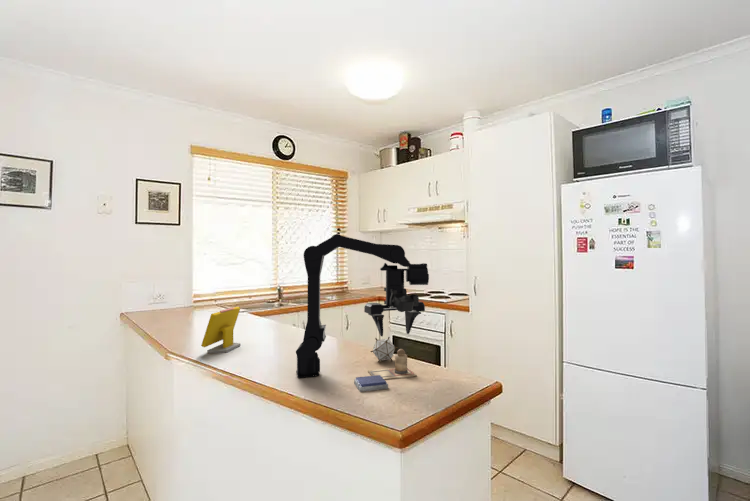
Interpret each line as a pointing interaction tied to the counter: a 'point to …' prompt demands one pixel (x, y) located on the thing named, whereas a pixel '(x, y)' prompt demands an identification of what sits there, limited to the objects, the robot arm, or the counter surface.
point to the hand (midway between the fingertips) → (394, 334)
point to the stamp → (401, 362)
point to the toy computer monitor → (221, 330)
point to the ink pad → (370, 383)
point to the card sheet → (390, 373)
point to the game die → (383, 349)
